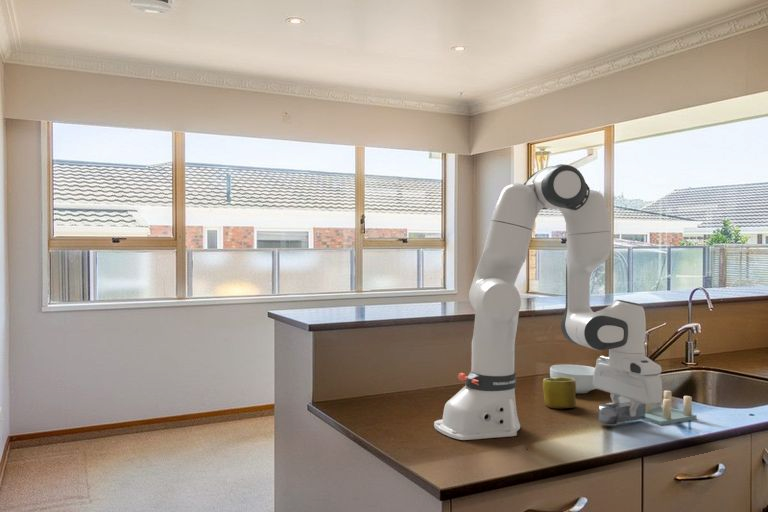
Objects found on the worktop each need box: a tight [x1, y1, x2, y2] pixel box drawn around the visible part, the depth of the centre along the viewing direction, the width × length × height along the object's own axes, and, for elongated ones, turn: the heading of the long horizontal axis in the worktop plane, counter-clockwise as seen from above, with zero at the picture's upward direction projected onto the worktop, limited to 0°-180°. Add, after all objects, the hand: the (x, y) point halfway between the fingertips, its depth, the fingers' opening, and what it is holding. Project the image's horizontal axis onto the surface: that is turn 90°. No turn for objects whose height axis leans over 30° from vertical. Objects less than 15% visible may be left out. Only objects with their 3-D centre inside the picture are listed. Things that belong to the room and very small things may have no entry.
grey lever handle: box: [597, 402, 646, 426], centre depth 155 cm, size 14×5×4 cm, turn 115°
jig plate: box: [605, 390, 698, 426], centre depth 166 cm, size 14×19×6 cm
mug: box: [542, 377, 577, 410], centre depth 173 cm, size 12×10×10 cm
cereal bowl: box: [549, 363, 597, 394], centre depth 191 cm, size 17×17×7 cm
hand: (624, 413), depth 155 cm, fingers closed on grey lever handle, 3 cm apart
